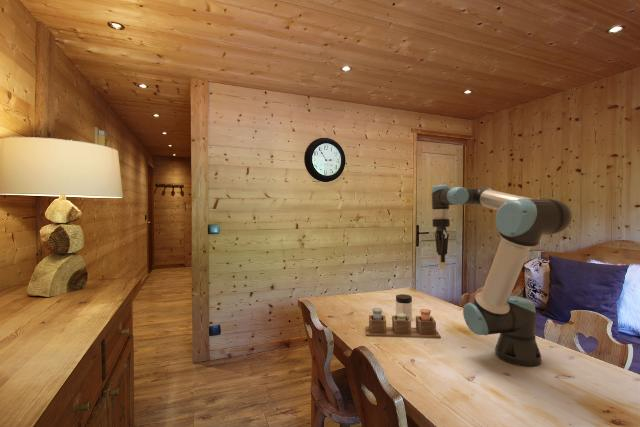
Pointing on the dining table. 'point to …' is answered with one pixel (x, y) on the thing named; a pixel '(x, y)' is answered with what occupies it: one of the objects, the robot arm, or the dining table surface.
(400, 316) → the sage plunger
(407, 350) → the dining table surface
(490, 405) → the dining table surface
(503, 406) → the dining table surface
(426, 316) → the terracotta plunger
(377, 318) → the pale grey canister
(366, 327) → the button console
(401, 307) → the jar
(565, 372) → the dining table surface
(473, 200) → the robot arm
